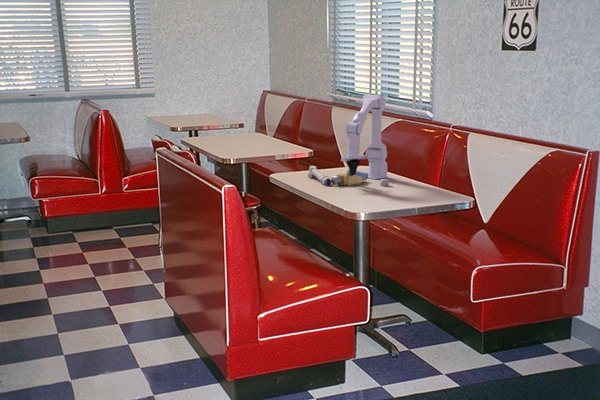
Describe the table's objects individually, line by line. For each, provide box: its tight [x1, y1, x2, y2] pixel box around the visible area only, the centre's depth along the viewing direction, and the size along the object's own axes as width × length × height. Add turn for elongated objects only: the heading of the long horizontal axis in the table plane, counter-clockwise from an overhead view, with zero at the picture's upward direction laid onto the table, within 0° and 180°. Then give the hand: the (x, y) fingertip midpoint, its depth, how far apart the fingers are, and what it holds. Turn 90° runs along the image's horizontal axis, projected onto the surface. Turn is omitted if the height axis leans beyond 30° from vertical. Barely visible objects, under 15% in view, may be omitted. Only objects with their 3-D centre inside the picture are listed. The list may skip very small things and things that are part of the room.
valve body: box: [330, 172, 369, 186], centre depth 368 cm, size 21×7×5 cm, turn 129°
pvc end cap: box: [379, 178, 390, 187], centre depth 365 cm, size 4×4×3 cm
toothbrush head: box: [306, 165, 332, 187], centre depth 374 cm, size 5×7×25 cm
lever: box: [346, 169, 369, 177], centre depth 363 cm, size 3×14×2 cm, turn 39°
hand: (352, 174), depth 359 cm, fingers closed
